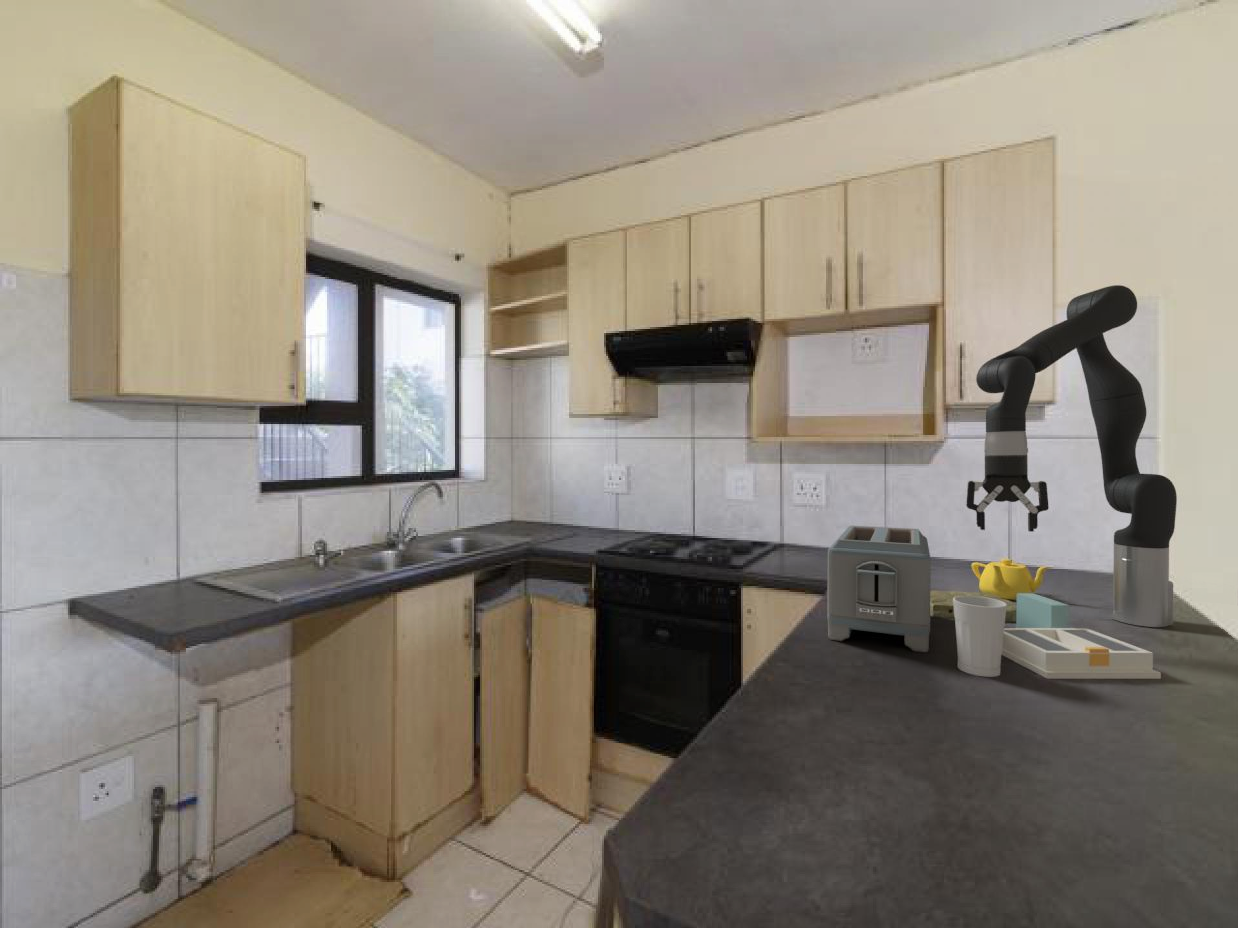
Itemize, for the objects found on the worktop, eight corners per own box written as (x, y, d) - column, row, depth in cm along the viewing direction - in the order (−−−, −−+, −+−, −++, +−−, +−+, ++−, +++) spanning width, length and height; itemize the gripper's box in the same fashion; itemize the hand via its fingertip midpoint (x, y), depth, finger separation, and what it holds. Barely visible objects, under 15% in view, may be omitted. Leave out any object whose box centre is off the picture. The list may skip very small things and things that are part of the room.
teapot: (994, 602, 148) (994, 563, 148) (967, 590, 161) (967, 554, 161) (1051, 603, 147) (1051, 564, 146) (1019, 591, 160) (1019, 555, 160)
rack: (1084, 646, 113) (1084, 623, 113) (1160, 678, 97) (1161, 651, 97) (986, 646, 113) (986, 623, 113) (1047, 678, 97) (1047, 651, 97)
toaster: (823, 645, 114) (824, 542, 114) (842, 606, 144) (842, 524, 144) (930, 660, 106) (931, 549, 106) (926, 615, 136) (927, 528, 136)
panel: (1032, 630, 124) (1033, 593, 124) (1068, 645, 114) (1069, 605, 114) (1016, 630, 124) (1016, 593, 124) (1051, 645, 114) (1051, 605, 114)
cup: (998, 664, 104) (999, 597, 103) (1012, 681, 96) (1013, 608, 96) (948, 659, 106) (948, 594, 106) (957, 675, 99) (958, 604, 98)
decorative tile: (907, 600, 151) (907, 587, 151) (992, 604, 148) (992, 590, 148) (933, 620, 133) (933, 605, 133) (1030, 625, 129) (1030, 609, 129)
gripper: (1044, 452, 122) (1044, 529, 122) (965, 454, 129) (965, 526, 129) (1050, 453, 116) (1051, 534, 116) (967, 454, 122) (967, 531, 123)
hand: (1006, 530), depth 122 cm, fingers open, 8 cm apart
